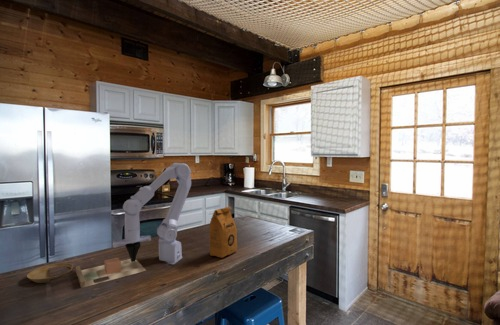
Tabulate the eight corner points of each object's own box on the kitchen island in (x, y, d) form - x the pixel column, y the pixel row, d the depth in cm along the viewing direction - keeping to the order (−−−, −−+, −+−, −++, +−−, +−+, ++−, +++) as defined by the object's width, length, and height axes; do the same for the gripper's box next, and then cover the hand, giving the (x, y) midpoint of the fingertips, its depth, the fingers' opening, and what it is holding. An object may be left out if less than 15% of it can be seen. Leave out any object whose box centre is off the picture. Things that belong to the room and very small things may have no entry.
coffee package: (240, 252, 130) (239, 207, 129) (221, 260, 120) (221, 211, 120) (225, 248, 136) (224, 204, 135) (206, 255, 127) (206, 208, 126)
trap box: (134, 260, 122) (134, 253, 122) (146, 273, 108) (146, 265, 108) (76, 274, 108) (75, 266, 108) (81, 291, 95) (81, 282, 95)
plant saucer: (50, 268, 115) (49, 262, 115) (82, 269, 113) (82, 263, 113) (16, 285, 100) (16, 278, 100) (53, 286, 99) (52, 279, 99)
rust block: (118, 266, 112) (117, 257, 112) (121, 270, 108) (120, 261, 108) (104, 270, 109) (104, 260, 109) (107, 274, 105) (106, 264, 105)
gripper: (147, 223, 120) (147, 253, 121) (111, 229, 111) (111, 262, 112) (152, 227, 115) (152, 258, 115) (114, 233, 106) (115, 267, 106)
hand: (132, 260), depth 113 cm, fingers closed
